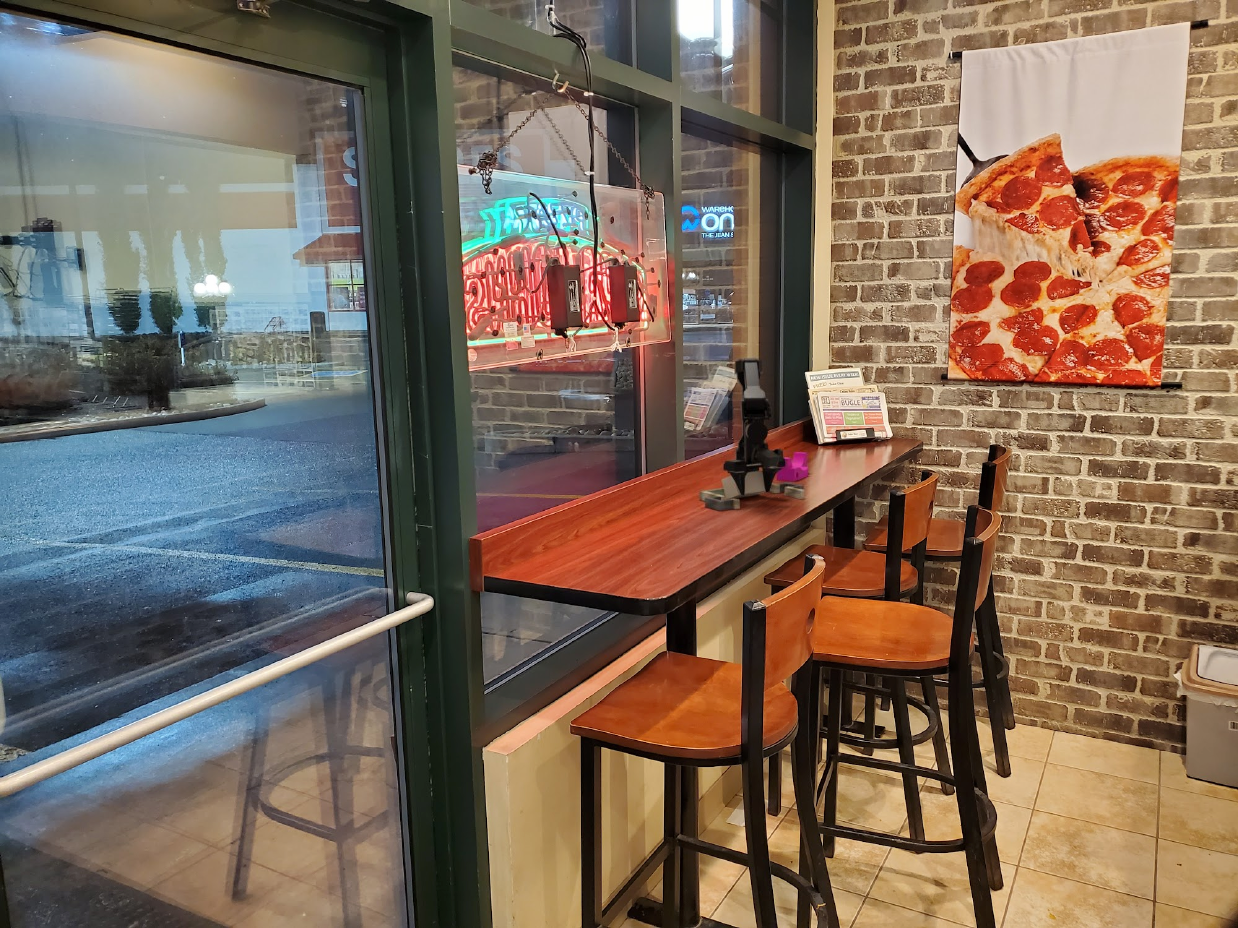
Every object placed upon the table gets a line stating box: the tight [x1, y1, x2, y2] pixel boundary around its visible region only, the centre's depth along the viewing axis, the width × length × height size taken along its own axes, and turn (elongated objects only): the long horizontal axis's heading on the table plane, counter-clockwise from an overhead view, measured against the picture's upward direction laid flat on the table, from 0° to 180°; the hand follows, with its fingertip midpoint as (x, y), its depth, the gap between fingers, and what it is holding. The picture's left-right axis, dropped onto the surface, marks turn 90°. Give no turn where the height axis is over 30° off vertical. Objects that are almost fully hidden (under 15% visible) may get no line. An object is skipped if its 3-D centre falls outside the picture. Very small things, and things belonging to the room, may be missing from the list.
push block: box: [721, 470, 771, 500], centre depth 272 cm, size 6×12×6 cm, turn 122°
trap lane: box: [698, 481, 806, 511], centre depth 270 cm, size 17×34×2 cm, turn 121°
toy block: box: [776, 451, 809, 483], centre depth 303 cm, size 15×6×8 cm, turn 145°
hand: (755, 493), depth 268 cm, fingers open, 9 cm apart
